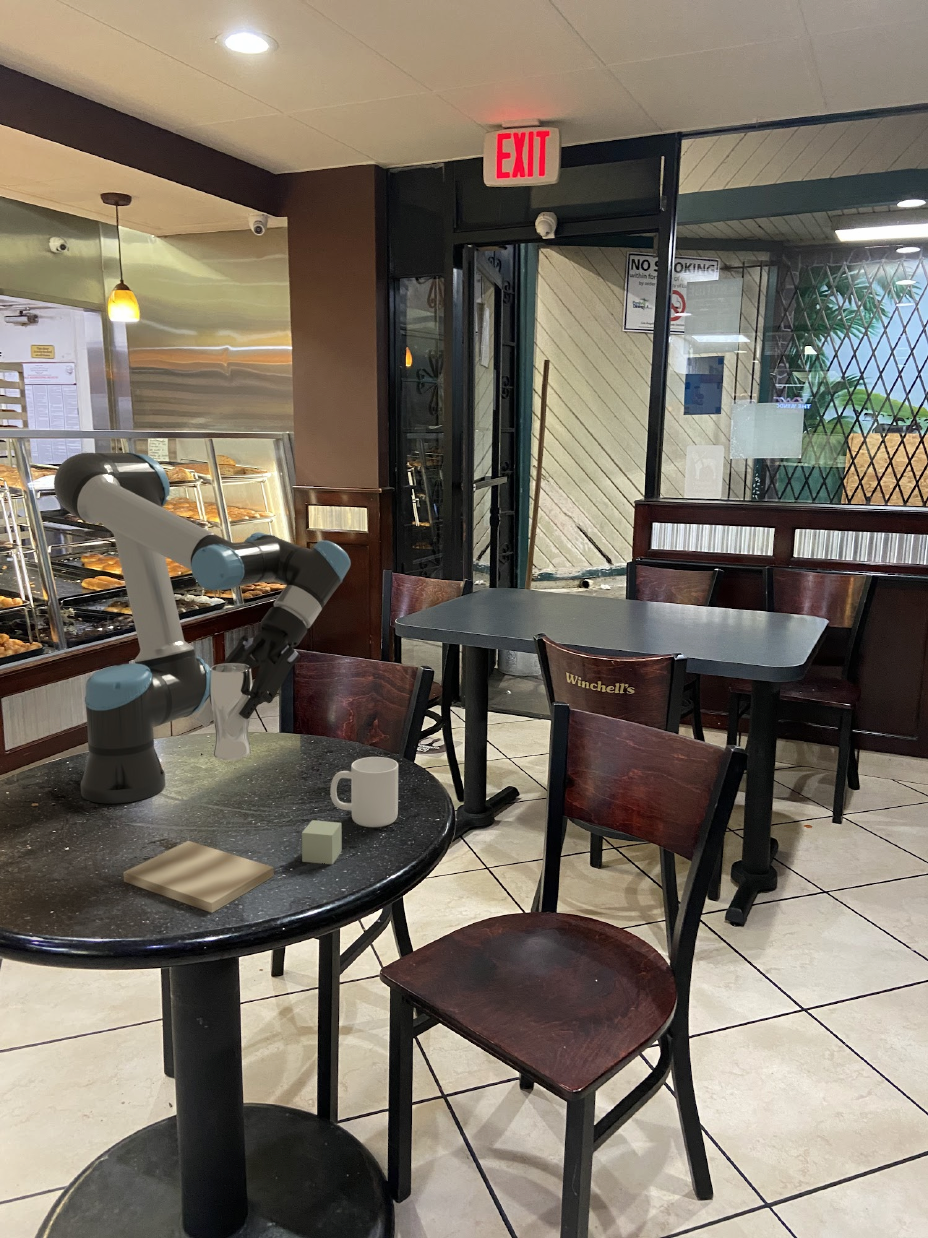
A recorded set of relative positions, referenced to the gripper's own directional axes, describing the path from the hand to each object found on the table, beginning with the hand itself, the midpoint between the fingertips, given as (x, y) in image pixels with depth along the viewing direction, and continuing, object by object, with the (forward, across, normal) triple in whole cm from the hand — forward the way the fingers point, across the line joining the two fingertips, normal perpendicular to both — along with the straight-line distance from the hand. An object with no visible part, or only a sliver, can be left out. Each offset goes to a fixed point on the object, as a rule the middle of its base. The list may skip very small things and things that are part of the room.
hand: (213, 727), depth 145 cm
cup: (-2, -12, -30) cm, 33 cm away
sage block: (+9, -18, -19) cm, 28 cm away
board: (+21, -10, -7) cm, 24 cm away
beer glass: (+2, 0, -6) cm, 7 cm away
